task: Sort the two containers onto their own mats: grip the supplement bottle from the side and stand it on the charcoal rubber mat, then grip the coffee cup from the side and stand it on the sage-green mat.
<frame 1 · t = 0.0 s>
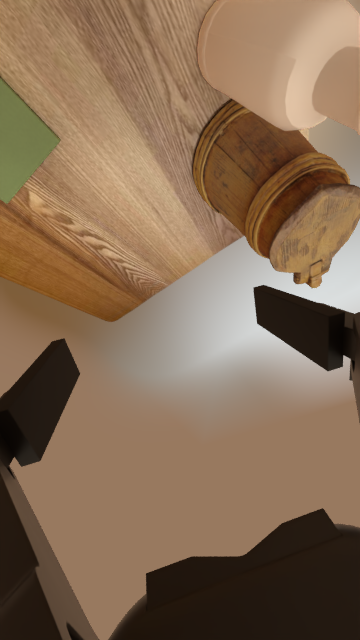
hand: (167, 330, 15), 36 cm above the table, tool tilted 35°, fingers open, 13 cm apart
tankard: (242, 171, 44), on the table
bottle: (223, 46, 30), on the table
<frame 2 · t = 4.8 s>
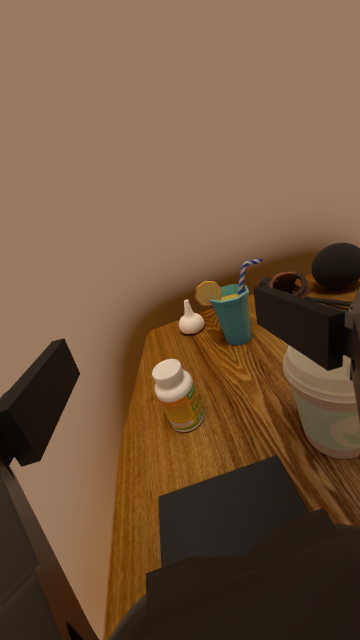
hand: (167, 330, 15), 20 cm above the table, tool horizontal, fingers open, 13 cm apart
coffee cup: (333, 434, 25), on the table
garlic bulb: (193, 329, 56), on the table
speaker: (337, 287, 52), on the table
pottery mug: (284, 301, 54), on the table
cup: (242, 336, 47), on the table
charcoal mat: (245, 574, 18), on the table
supplement bottle: (188, 417, 34), on the table
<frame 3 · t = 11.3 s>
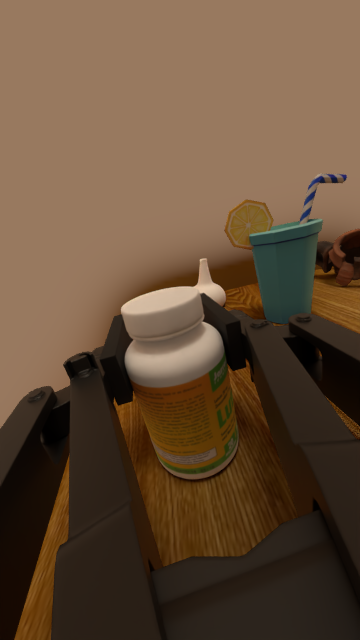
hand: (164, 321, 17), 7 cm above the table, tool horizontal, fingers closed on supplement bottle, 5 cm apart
garlic bulb: (208, 308, 38), on the table
pottery mug: (348, 278, 36), on the table
cup: (292, 314, 29), on the table
supplement bottle: (197, 441, 15), on the table, touching gripper
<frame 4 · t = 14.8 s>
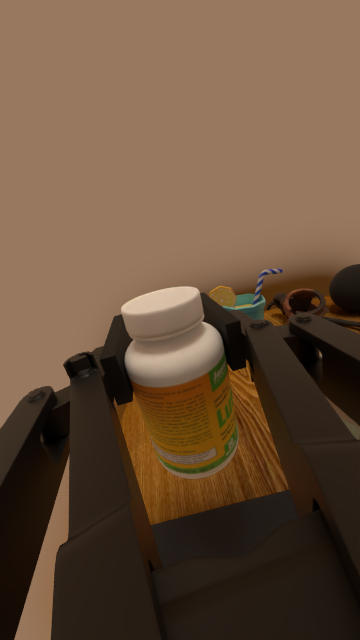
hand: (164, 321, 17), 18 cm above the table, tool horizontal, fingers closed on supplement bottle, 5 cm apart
speaker: (356, 310, 49), on the table
pottery mug: (298, 320, 51), on the table
cup: (253, 351, 44), on the table
supplement bottle: (197, 441, 15), point 11 cm above the table, touching gripper
when the fingers open (7 cm above the table, at t = 18.7 s): supplement bottle stays where it is, resting on charcoal mat.
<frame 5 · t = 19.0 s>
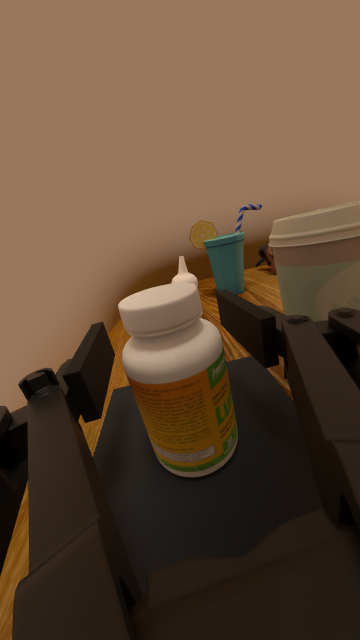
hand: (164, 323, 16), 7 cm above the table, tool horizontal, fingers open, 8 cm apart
coffee cup: (322, 342, 22), on the table
garlic bulb: (186, 291, 54), on the table
pottery mug: (282, 270, 52), on the table
cup: (235, 291, 45), on the table
charcoal mat: (198, 443, 15), on the table
supplement bottle: (196, 439, 14), resting on charcoal mat
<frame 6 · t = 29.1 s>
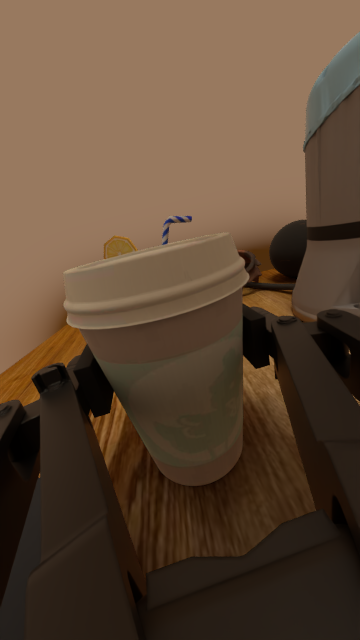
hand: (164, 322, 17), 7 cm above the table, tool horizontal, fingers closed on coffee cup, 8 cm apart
coffee cup: (197, 441, 15), on the table, touching gripper
speaker: (299, 277, 43), on the table
pottery mug: (235, 289, 45), on the table
cup: (168, 319, 37), on the table
when the fingers open (7 cm above the table, at t = 37.7 s): coffee cup stays where it is, resting on sage mat.
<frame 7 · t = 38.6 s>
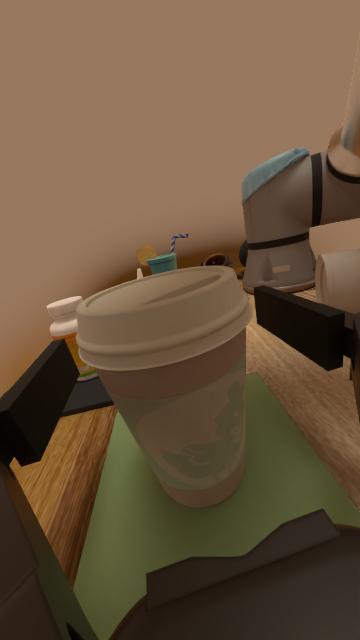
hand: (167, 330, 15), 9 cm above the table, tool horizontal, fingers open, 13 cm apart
sage mat: (202, 464, 15), on the table
coffee cup: (201, 460, 15), resting on sage mat
garlic bulb: (144, 295, 70), on the table
speaker: (258, 271, 66), on the table
pottery mug: (217, 279, 68), on the table
cup: (174, 296, 60), on the table
charcoal mat: (94, 373, 30), on the table
supplement bottle: (93, 370, 30), resting on charcoal mat
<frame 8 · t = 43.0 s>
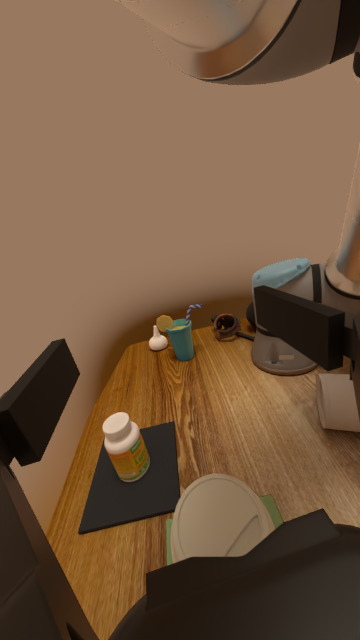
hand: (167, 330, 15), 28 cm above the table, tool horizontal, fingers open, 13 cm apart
sage mat: (238, 596, 22), on the table
coffee cup: (237, 595, 22), resting on sage mat
garlic bulb: (159, 347, 76), on the table
speaker: (264, 328, 73), on the table
pottery mug: (226, 334, 75), on the table
cup: (188, 355, 67), on the table
charcoal mat: (135, 468, 37), on the table
supplement bottle: (134, 467, 37), resting on charcoal mat
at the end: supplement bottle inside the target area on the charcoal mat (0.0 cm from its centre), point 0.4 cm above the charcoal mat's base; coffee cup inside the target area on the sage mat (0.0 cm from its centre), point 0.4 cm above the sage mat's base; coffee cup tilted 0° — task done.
